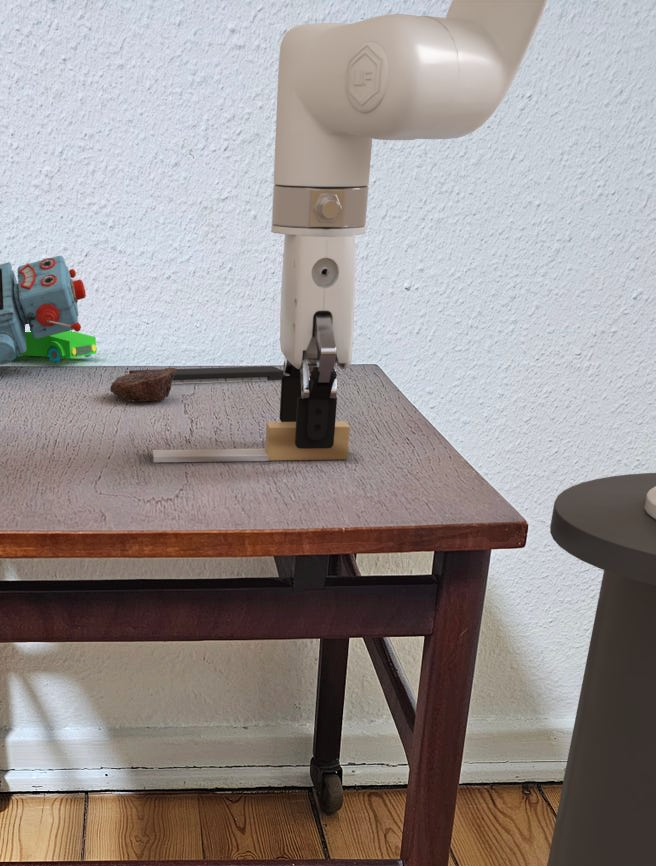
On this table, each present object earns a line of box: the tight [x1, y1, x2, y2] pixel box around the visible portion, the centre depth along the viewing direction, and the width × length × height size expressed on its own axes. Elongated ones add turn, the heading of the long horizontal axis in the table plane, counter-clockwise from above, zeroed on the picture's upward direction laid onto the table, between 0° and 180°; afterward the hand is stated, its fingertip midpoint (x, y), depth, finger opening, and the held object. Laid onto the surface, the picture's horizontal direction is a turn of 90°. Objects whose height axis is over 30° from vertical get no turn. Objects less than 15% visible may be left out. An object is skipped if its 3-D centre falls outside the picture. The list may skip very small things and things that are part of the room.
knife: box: [151, 420, 351, 464], centre depth 103 cm, size 17×3×3 cm, turn 93°
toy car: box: [13, 330, 98, 363], centre depth 147 cm, size 11×7×7 cm, turn 58°
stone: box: [109, 367, 177, 402], centre depth 126 cm, size 7×7×3 cm
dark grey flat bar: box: [128, 365, 284, 385], centre depth 138 cm, size 18×1×5 cm
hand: (305, 434), depth 104 cm, fingers open, 9 cm apart
